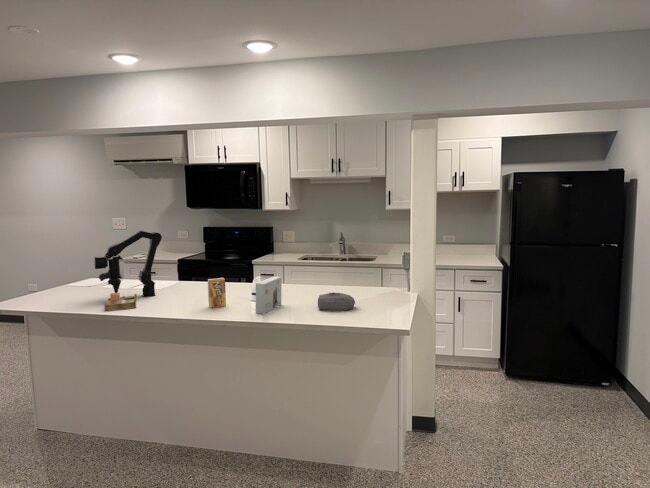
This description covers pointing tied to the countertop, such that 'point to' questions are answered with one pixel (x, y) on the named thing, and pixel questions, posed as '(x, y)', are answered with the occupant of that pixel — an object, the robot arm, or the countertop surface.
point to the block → (115, 296)
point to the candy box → (216, 292)
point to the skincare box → (268, 294)
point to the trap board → (121, 303)
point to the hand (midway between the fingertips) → (116, 293)
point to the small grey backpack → (335, 301)
